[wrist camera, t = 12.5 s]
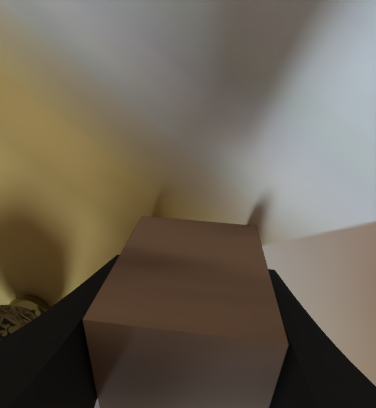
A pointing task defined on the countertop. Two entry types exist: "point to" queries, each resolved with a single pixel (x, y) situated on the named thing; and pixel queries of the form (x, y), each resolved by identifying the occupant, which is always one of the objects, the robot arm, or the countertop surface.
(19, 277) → the countertop surface
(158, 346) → the walnut block
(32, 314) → the cup
